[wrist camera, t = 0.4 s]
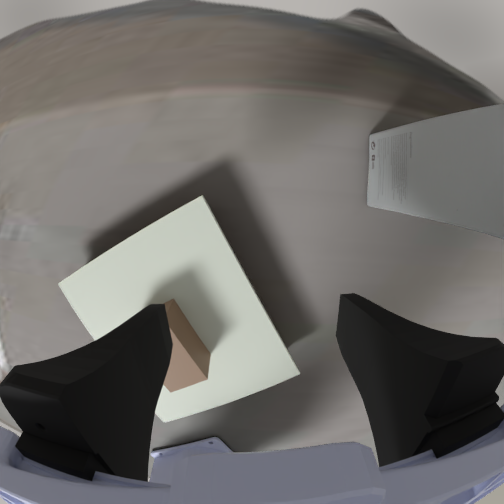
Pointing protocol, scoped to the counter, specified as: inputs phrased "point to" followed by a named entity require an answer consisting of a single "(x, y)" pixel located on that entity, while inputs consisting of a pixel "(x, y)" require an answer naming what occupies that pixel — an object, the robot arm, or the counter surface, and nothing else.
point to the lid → (187, 310)
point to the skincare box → (443, 169)
